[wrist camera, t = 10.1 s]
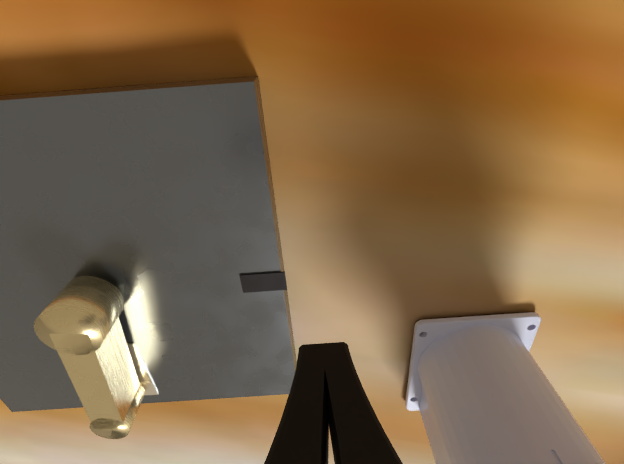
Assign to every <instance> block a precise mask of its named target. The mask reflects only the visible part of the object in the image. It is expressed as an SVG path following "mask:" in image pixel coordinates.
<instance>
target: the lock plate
mask: <svg viewBox="0 0 624 464" xmlns="http://www.w3.org/2000/svg"><path fill="white" fill-rule="evenodd" d="M80 276H94V277H98V278H101V279H104V280H106V281H108V282H110V283H112V284H113V285H114V286H116V287H117V288H118V289H119V290H120V292H121V293H122V295H123V297H124V301H125V305H124V309H123V310H122V312H121V314H120V315H119V320H120V323H121V327H122V330H123V333H124V336H125V339H126V343H127V346H128V349H129V352H130V355H131V358H132V362H133V365H134V368H135V371H136V374H137V377H138V381H139V384H140V385H141V386H142V387H143V388H144V390H145V395H144V397H143V400H142V402H141V403H156V402H171V401H187V400H202V399H218V398H233V397H249V396H264V395H280V394H289V393H290V390H291V386H292V382H293V379H294V375H295V370H296V366H297V362H296V354H295V347H294V339H293V332H292V325H291V317H290V310H289V302H288V295H287V286H286V278H285V271H284V265H283V258H282V250H281V243H280V236H279V228H278V221H277V213H276V206H275V198H274V191H273V184H272V176H271V169H270V161H269V154H268V147H267V139H266V132H265V124H264V117H263V109H262V102H261V95H260V87H259V80H258V76H254V77H241V78H227V79H214V80H201V81H187V82H174V83H161V84H147V85H134V86H121V87H108V88H94V89H81V90H68V91H54V92H41V93H28V94H14V95H1V96H0V399H1V400H2V401H3V402H4V403H5V404H6V406H7V407H8V408H9V409H10V410H11V411H12V412H16V411H32V410H47V409H63V408H78V407H83V405H82V403H81V400H80V398H79V396H78V394H77V392H76V390H75V388H74V386H73V384H72V381H71V379H70V377H69V375H68V373H67V371H66V369H65V367H64V364H63V362H62V360H61V358H60V356H59V354H58V352H57V351H56V350H54V349H52V348H50V347H49V346H47V345H46V344H44V343H43V342H42V341H41V340H40V339H39V338H38V336H37V335H36V333H35V330H34V322H35V320H36V318H37V317H38V316H39V315H40V314H41V313H42V311H43V310H44V309H45V308H46V307H47V306H48V305H49V304H50V302H51V301H52V300H53V299H54V298H55V297H56V296H57V295H58V293H59V292H60V291H61V290H62V289H63V288H64V287H65V286H66V284H67V283H68V282H69V281H70V280H72V279H74V278H76V277H80Z"/></svg>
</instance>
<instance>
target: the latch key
mask: <svg viewBox="0 0 624 464" xmlns="http://www.w3.org/2000/svg"><path fill="white" fill-rule="evenodd" d="M124 305H125V301H124V297H123V295H122V293H121V292H120V290H119V289H118V288H117V287H116V286H114V285H113V284H112V283H110V282H108V281H106V280H104V279H101V278H98V277H94V276H80V277H76V278H74V279H72V280H70V281H69V282H68V283H67V284H66V286H65V287H64V288H63V289H62V290H61V291H60V292H59V293H58V295H57V296H56V297H55V298H54V299H53V300H52V301H51V302H50V304H49V305H48V306H47V307H46V308H45V309H44V310H43V311H42V313H41V314H40V315H39V316H38V317H37V318H36V320H35V322H34V330H35V333H36V335H37V336H38V338H39V339H40V340H41V341H42V342H43V343H44V344H46V345H47V346H49V347H50V348H52V349H54V350H56V351H57V352H58V354H59V356H60V358H61V360H62V362H63V364H64V367H65V369H66V371H67V373H68V375H69V377H70V379H71V381H72V384H73V386H74V388H75V390H76V392H77V394H78V396H79V398H80V400H81V403H82V405H83V407H84V409H85V411H86V413H87V415H88V417H89V419H90V422H91V423H90V429H91V430H92V432H94V433H95V434H96V435H98V436H101V437H104V438H108V439H119V438H123V437H125V436H127V435H128V433H129V431H130V429H131V426H132V424H133V421H134V419H135V417H136V414H137V412H138V409H139V407H140V405H141V402H142V400H143V397H144V395H145V390H144V388H143V387H142V386H141V385H140V384H139V381H138V377H137V374H136V371H135V368H134V365H133V362H132V358H131V355H130V352H129V349H128V346H127V343H126V339H125V336H124V333H123V330H122V327H121V323H120V320H119V315H120V314H121V312H122V310H123V309H124Z"/></svg>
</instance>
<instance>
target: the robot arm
mask: <svg viewBox="0 0 624 464" xmlns="http://www.w3.org/2000/svg"><path fill="white" fill-rule="evenodd" d="M540 322H541V318H540V316H539V315H538V314H537V313H535V312H529V313H514V314H499V315H484V316H469V317H454V318H439V319H424V320H419V321H418V322H417V323H416V324H415V328H414V336H413V344H412V352H411V360H410V368H409V376H408V384H407V392H406V401H405V405H406V409H408V410H410V411H415V410H420V413H421V416H422V419H423V423H424V426H425V429H426V432H427V436H428V439H429V442H430V446H431V449H432V452H433V455H434V459H435V462H436V464H606V463H605V462H604V461H603V459H602V458H601V456H600V455H599V453H598V452H597V450H596V449H595V447H594V446H593V445H592V443H591V442H590V440H589V439H588V437H587V436H586V434H585V433H584V431H583V430H582V428H581V427H580V426H579V424H578V423H577V421H576V420H575V418H574V417H573V415H572V414H571V412H570V411H569V410H568V408H567V407H566V405H565V404H564V402H563V401H562V399H561V398H560V396H559V395H558V394H557V392H556V391H555V389H554V388H553V386H552V385H551V383H550V382H549V380H548V379H547V377H546V376H545V375H544V373H543V372H542V370H541V369H540V367H539V366H538V364H537V363H536V361H535V360H534V359H533V357H532V356H531V354H530V353H529V351H530V348H531V345H532V343H533V340H534V338H535V335H536V332H537V330H538V327H539V325H540ZM421 332H422V333H421ZM329 428H330V435H331V441H332V448H333V455H334V461H335V464H403V463H402V462H401V460H400V458H399V457H398V455H397V453H396V451H395V450H394V448H393V446H392V444H391V443H390V441H389V439H388V437H387V435H386V434H385V432H384V430H383V428H382V426H381V424H380V422H379V420H378V418H377V416H376V414H375V412H374V410H373V408H372V406H371V404H370V402H369V400H368V398H367V396H366V394H365V391H364V389H363V387H362V385H361V382H360V380H359V377H358V375H357V373H356V370H355V367H354V365H353V362H352V359H351V356H350V352H349V349H348V345H347V344H346V343H344V342H339V343H324V344H309V345H302V346H301V347H299V353H298V360H297V366H296V370H295V375H294V379H293V382H292V386H291V390H290V393H289V396H288V400H287V403H286V406H285V409H284V412H283V415H282V418H281V421H280V424H279V427H278V429H277V432H276V435H275V437H274V440H273V443H272V445H271V448H270V451H269V453H268V456H267V458H266V461H265V463H264V464H328V440H329Z"/></svg>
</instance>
